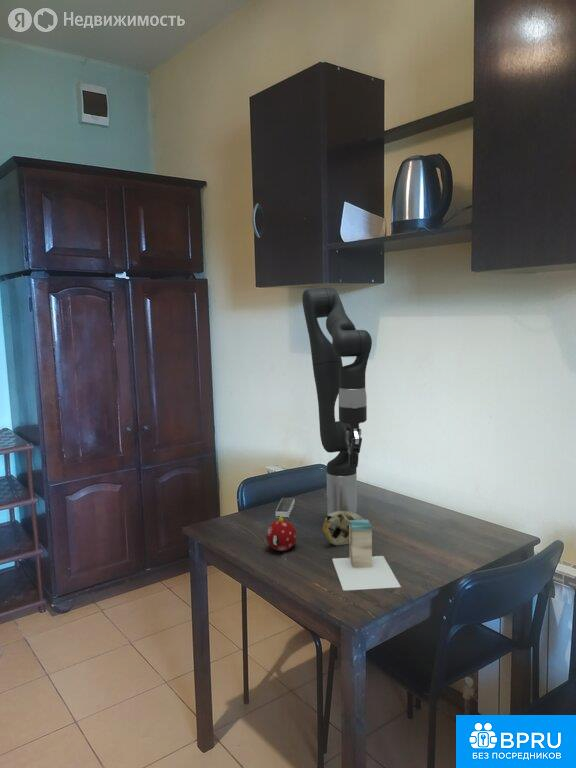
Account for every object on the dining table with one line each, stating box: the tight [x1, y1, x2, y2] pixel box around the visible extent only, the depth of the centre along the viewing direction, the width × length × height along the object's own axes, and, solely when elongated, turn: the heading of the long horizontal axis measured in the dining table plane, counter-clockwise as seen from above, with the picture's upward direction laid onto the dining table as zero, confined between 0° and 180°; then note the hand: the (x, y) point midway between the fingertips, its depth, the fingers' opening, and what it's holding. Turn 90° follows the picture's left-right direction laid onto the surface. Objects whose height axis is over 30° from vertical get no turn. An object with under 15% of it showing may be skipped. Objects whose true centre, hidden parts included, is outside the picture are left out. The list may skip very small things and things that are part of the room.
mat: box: [331, 555, 402, 592], centre depth 146 cm, size 18×14×1 cm
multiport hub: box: [275, 497, 295, 518], centre depth 196 cm, size 4×14×2 cm, turn 171°
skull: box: [322, 511, 365, 546], centre depth 166 cm, size 10×16×10 cm, turn 134°
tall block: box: [348, 519, 373, 568], centre depth 150 cm, size 5×5×11 cm
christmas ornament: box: [265, 516, 298, 552], centre depth 162 cm, size 9×9×10 cm
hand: (353, 466), depth 157 cm, fingers closed
